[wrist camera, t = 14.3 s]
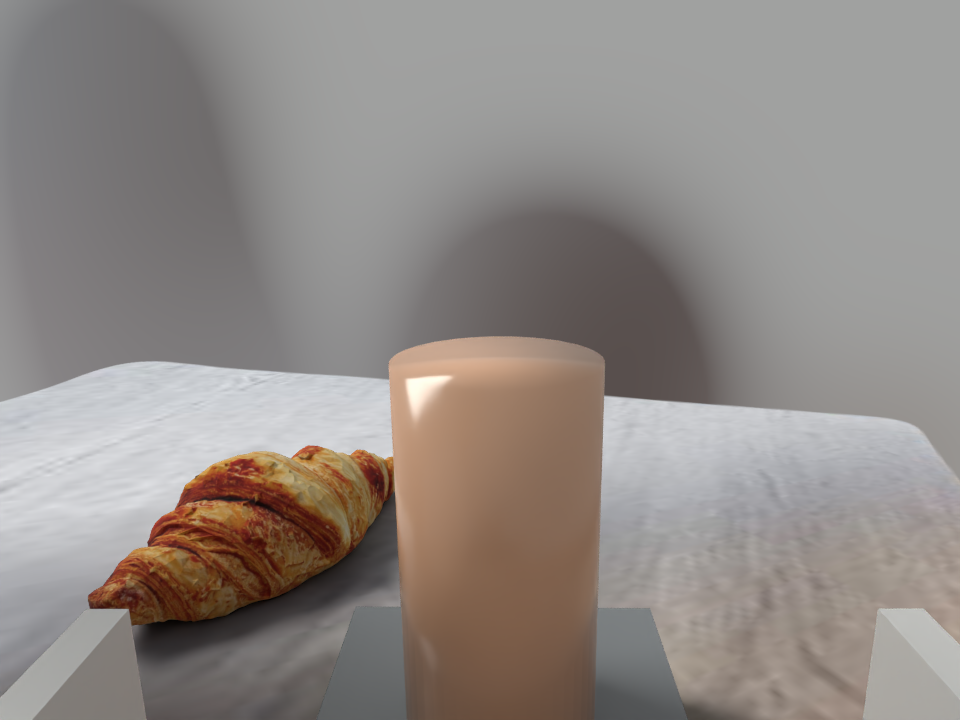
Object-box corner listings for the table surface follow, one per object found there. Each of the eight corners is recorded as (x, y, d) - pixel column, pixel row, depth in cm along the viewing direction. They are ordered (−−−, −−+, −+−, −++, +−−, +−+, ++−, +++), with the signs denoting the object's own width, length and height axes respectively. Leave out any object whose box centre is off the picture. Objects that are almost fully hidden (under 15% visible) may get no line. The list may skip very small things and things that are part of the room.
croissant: (367, 524, 51) (324, 425, 52) (467, 490, 46) (418, 379, 46) (80, 694, 34) (19, 543, 34) (185, 674, 28) (109, 493, 29)
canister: (393, 797, 20) (369, 391, 17) (419, 656, 25) (405, 337, 22) (606, 801, 19) (621, 389, 16) (583, 658, 25) (590, 335, 22)
